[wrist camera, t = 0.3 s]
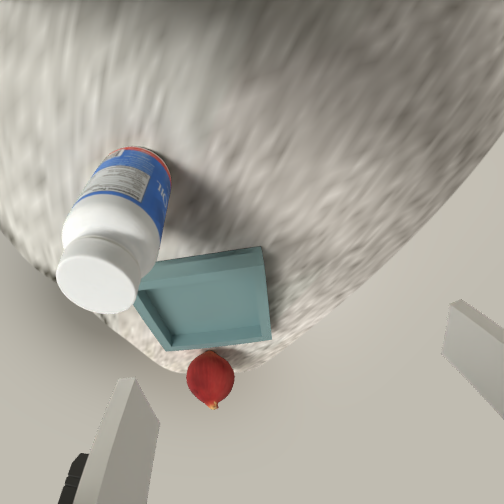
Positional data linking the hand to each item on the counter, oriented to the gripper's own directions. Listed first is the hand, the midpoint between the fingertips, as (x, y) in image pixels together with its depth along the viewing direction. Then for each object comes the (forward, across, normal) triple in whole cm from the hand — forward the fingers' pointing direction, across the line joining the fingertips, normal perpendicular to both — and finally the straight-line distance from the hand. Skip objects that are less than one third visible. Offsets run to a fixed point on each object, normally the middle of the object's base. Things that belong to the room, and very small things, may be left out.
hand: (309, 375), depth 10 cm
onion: (+23, -8, -14) cm, 28 cm away
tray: (+18, -6, -4) cm, 19 cm away
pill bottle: (+12, -8, +9) cm, 16 cm away
